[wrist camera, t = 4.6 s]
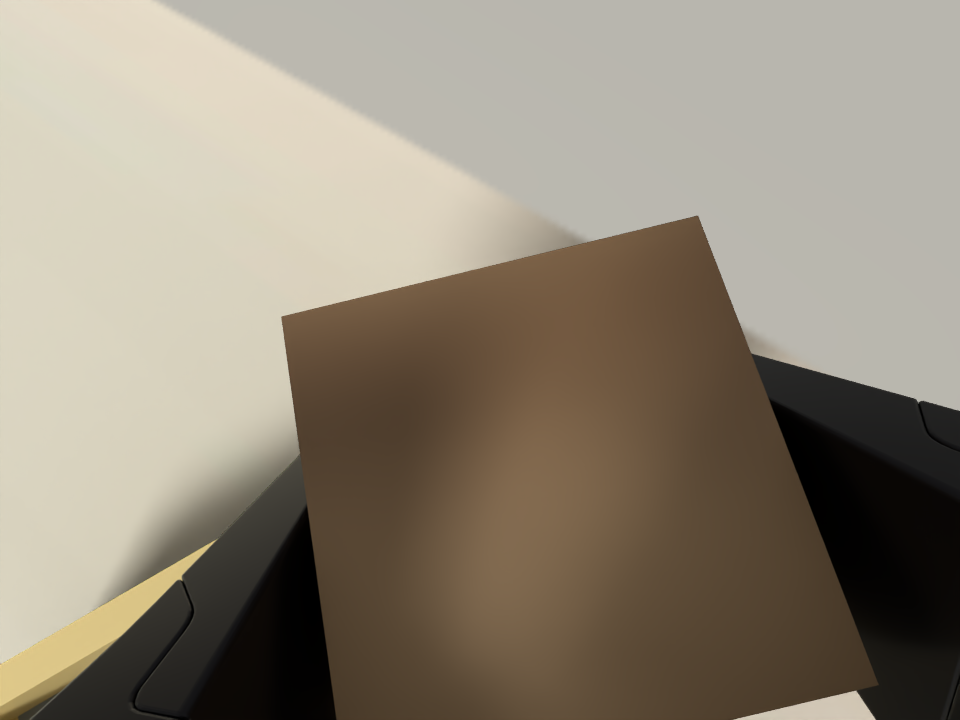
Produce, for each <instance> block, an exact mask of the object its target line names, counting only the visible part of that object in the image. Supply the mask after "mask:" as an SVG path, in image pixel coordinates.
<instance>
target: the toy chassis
mask: <svg viewBox="0 0 960 720" xmlns="http://www.w3.org/2000/svg"><path fill="white" fill-rule="evenodd" d="M216 540H217V539H216ZM216 540H215V541H216ZM215 541H213V542H211V543H209V544H208V545H206V546H204V547H202V548H201V549H199V550H197V551H196V552H194V553H192V554H190V555H189V556H187V557H185V558H183V559H182V560H180V561H178V562H177V563H175V564H173V565H171V566H170V567H168V568H166V569H164V570H163V571H161V572H159V573H158V574H156V575H154V576H152V577H151V578H149V579H147V580H145V581H144V582H142V583H140V584H139V585H137V586H135V587H133V588H132V589H130V590H128V591H126V592H125V593H123V594H121V595H120V596H118V597H116V598H114V599H113V600H111V601H109V602H108V603H106V604H104V605H102V606H101V607H99V608H97V609H95V610H94V611H92V612H90V613H89V614H87V615H85V616H83V617H82V618H80V619H78V620H76V621H75V622H73V623H71V624H70V625H68V626H66V627H64V628H63V629H61V630H59V631H57V632H56V633H54V634H52V635H51V636H49V637H47V638H45V639H44V640H42V641H40V642H38V643H37V644H35V645H33V646H32V647H30V648H28V649H26V650H25V651H23V652H21V653H19V654H18V655H16V656H14V657H13V658H11V659H9V660H7V661H6V662H4V663H2V664H0V720H29V719H30V718H31V717H33V716H34V715H35V714H36V713H37V712H38V711H39V710H40V709H41V708H42V707H44V706H45V705H46V704H47V703H48V702H49V701H50V700H51V699H52V698H54V697H55V696H56V695H57V694H58V693H59V692H60V691H61V690H62V689H64V688H65V687H66V686H67V685H68V684H69V683H70V682H71V681H72V680H73V679H75V678H76V677H77V676H78V675H79V674H80V673H81V672H82V671H83V670H85V669H86V668H87V667H88V666H89V665H90V664H91V663H92V662H93V661H94V660H95V659H96V658H98V657H99V656H100V655H101V654H102V653H103V652H104V651H105V650H106V649H107V648H108V647H109V646H111V645H112V644H113V643H114V642H115V641H116V640H117V639H118V638H119V637H120V636H121V635H122V634H124V633H125V632H126V631H127V630H128V629H129V628H130V627H131V626H132V625H133V624H134V623H135V622H136V621H137V620H138V619H139V618H140V617H141V616H142V615H143V614H144V613H145V612H146V611H147V610H148V609H149V608H150V607H151V606H152V605H153V604H154V603H155V602H156V601H157V600H158V599H159V598H160V597H161V596H162V595H163V594H164V593H165V592H166V591H167V590H168V589H169V588H170V587H171V586H172V585H173V584H174V582H175V581H177V580H179V579H180V580H182V575H183V574H184V572H185V571H186V570H187V569H188V568H189V567H190V566H191V565H192V564H193V563H194V562H195V561H196V560H197V559H198V558H199V557H200V556H201V555H202V554H203V553H204V552H205V551H206V550H207V549H208V548H209V547H210V546H211V545H212V544H213V543H214V542H215Z"/></svg>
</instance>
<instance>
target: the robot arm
mask: <svg viewBox="0 0 960 720" xmlns="http://www.w3.org/2000/svg"><path fill="white" fill-rule="evenodd" d="M751 355H752V357H753V360H754V363H755V365H756V368H757V370H758V373H759V375H760V378H761V381H762V383H763V386H764V388H765V391H766V394H767V396H768V399H769V401H770V404H771V407H772V409H773V412H774V414H775V417H776V420H777V422H778V425H779V427H780V430H781V433H782V435H783V438H784V440H785V443H786V446H787V448H788V451H789V453H790V456H791V459H792V461H793V464H794V466H795V469H796V472H797V474H798V477H799V479H800V482H801V485H802V487H803V490H804V492H805V495H806V498H807V500H808V503H809V505H810V508H811V511H812V513H813V516H814V518H815V521H816V523H817V526H818V529H819V531H820V534H821V536H822V539H823V542H824V544H825V547H826V549H827V552H828V555H829V557H830V560H831V562H832V565H833V568H834V570H835V573H836V575H837V578H838V581H839V583H840V586H841V588H842V591H843V594H844V596H845V599H846V601H847V604H848V607H849V609H850V612H851V614H852V617H853V620H854V622H855V625H856V627H857V630H858V633H859V635H860V638H861V640H862V643H863V646H864V648H865V651H866V653H867V656H868V658H869V661H870V664H871V666H872V669H873V671H874V674H875V677H876V679H877V682H878V684H879V685H877V686H873V687H868V688H864V689H860V690H856V691H857V693H858V694H859V696H860V697H861V698H862V700H863V701H864V703H865V704H866V706H867V707H868V709H869V710H870V712H871V713H872V715H873V716H874V718H875V719H876V720H960V411H958V410H953V409H950V408H947V407H943V406H939V405H936V404H933V403H929V402H925V401H920V402H919V403H918V402H917V400H916V399H914V398H910V397H906V396H903V395H899V394H896V393H892V392H889V391H885V390H881V389H877V388H874V387H871V386H867V385H863V384H860V383H856V382H852V381H849V380H845V379H842V378H838V377H834V376H831V375H827V374H823V373H820V372H816V371H813V370H809V369H805V368H802V367H798V366H794V365H791V364H787V363H784V362H780V361H776V360H773V359H769V358H765V357H762V356H758V355H755V354H751ZM29 720H337V719H336V712H335V705H334V697H333V690H332V683H331V675H330V668H329V661H328V653H327V646H326V639H325V632H324V624H323V617H322V610H321V602H320V595H319V588H318V580H317V573H316V566H315V559H314V551H313V544H312V537H311V529H310V522H309V515H308V508H307V500H306V493H305V486H304V478H303V471H302V464H301V456H300V455H299V456H298V457H297V458H296V459H295V460H294V461H293V462H292V463H291V464H290V465H289V466H288V467H287V468H286V470H285V471H284V472H283V473H282V474H281V475H280V476H279V477H278V478H277V479H276V480H275V481H274V482H273V483H272V484H271V485H270V486H269V487H268V488H267V489H266V490H265V491H264V492H263V493H262V494H261V495H260V496H259V497H258V498H257V499H256V500H255V501H254V502H253V503H252V504H251V505H250V506H249V507H248V508H247V509H246V510H245V511H244V512H243V513H242V514H241V515H240V516H239V517H238V518H237V519H236V521H235V522H234V523H233V524H232V525H231V526H230V527H229V528H228V529H227V530H226V531H225V532H224V533H223V534H222V535H221V536H220V537H219V538H218V539H217V540H216V541H215V542H214V543H213V544H212V545H211V546H210V547H209V548H208V549H207V550H206V551H205V552H204V553H203V554H202V555H201V556H200V557H199V558H198V559H197V560H196V561H195V562H194V563H193V564H192V565H191V566H190V567H189V568H188V569H187V570H186V571H185V572H184V574H183V575H182V580H180V579H179V580H177V581H175V582H174V584H173V585H172V586H171V587H170V588H169V589H168V590H167V591H166V592H165V593H164V594H163V595H162V596H161V597H160V598H159V599H158V600H157V601H156V602H155V603H154V604H153V605H152V606H151V607H150V608H149V609H148V610H147V611H146V612H145V613H144V614H143V615H142V616H141V617H140V618H139V619H138V620H137V621H136V622H135V623H134V624H133V625H132V626H131V627H130V628H129V629H128V630H127V631H126V632H125V633H124V634H122V635H121V636H120V637H119V638H118V639H117V640H116V641H115V642H114V643H113V644H112V645H111V646H109V647H108V648H107V649H106V650H105V651H104V652H103V653H102V654H101V655H100V656H99V657H98V658H96V659H95V660H94V661H93V662H92V663H91V664H90V665H89V666H88V667H87V668H86V669H85V670H83V671H82V672H81V673H80V674H79V675H78V676H77V677H76V678H75V679H73V680H72V681H71V682H70V683H69V684H68V685H67V686H66V687H65V688H64V689H62V690H61V691H60V692H59V693H58V694H57V695H56V696H55V697H54V698H52V699H51V700H50V701H49V702H48V703H47V704H46V705H45V706H44V707H42V708H41V709H40V710H39V711H38V712H37V713H36V714H35V715H34V716H33V717H31V718H30V719H29Z"/></svg>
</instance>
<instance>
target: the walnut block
mask: <svg viewBox="0 0 960 720" xmlns="http://www.w3.org/2000/svg"><path fill="white" fill-rule="evenodd" d="M281 318H282V325H283V332H284V340H285V347H286V354H287V362H288V369H289V376H290V384H291V391H292V398H293V405H294V413H295V420H296V427H297V435H298V442H299V449H300V456H301V464H302V471H303V478H304V486H305V493H306V500H307V508H308V515H309V522H310V529H311V537H312V544H313V551H314V559H315V566H316V573H317V580H318V588H319V595H320V602H321V610H322V617H323V624H324V632H325V639H326V646H327V653H328V661H329V668H330V675H331V683H332V690H333V697H334V705H335V712H336V719H337V720H733V719H737V718H742V717H746V716H750V715H754V714H759V713H763V712H767V711H771V710H775V709H780V708H784V707H788V706H792V705H797V704H801V703H805V702H809V701H813V700H818V699H822V698H826V697H830V696H835V695H839V694H843V693H847V692H851V691H856V690H860V689H864V688H868V687H873V686H877V685H879V684H878V682H877V679H876V677H875V674H874V671H873V669H872V666H871V664H870V661H869V658H868V656H867V653H866V651H865V648H864V646H863V643H862V640H861V638H860V635H859V633H858V630H857V627H856V625H855V622H854V620H853V617H852V614H851V612H850V609H849V607H848V604H847V601H846V599H845V596H844V594H843V591H842V588H841V586H840V583H839V581H838V578H837V575H836V573H835V570H834V568H833V565H832V562H831V560H830V557H829V555H828V552H827V549H826V547H825V544H824V542H823V539H822V536H821V534H820V531H819V529H818V526H817V523H816V521H815V518H814V516H813V513H812V511H811V508H810V505H809V503H808V500H807V498H806V495H805V492H804V490H803V487H802V485H801V482H800V479H799V477H798V474H797V472H796V469H795V466H794V464H793V461H792V459H791V456H790V453H789V451H788V448H787V446H786V443H785V440H784V438H783V435H782V433H781V430H780V427H779V425H778V422H777V420H776V417H775V414H774V412H773V409H772V407H771V404H770V401H769V399H768V396H767V394H766V391H765V388H764V386H763V383H762V381H761V378H760V375H759V373H758V370H757V368H756V365H755V363H754V360H753V357H752V355H751V352H750V350H749V347H748V344H747V342H746V339H745V337H744V334H743V331H742V329H741V326H740V324H739V321H738V318H737V316H736V313H735V311H734V308H733V305H732V303H731V300H730V298H729V295H728V293H727V290H726V287H725V285H724V282H723V279H722V277H721V274H720V272H719V269H718V266H717V264H716V262H715V259H714V256H713V253H712V251H711V248H710V246H709V243H708V240H707V238H706V235H705V233H704V230H703V227H702V225H701V222H700V220H699V217H698V216H694V217H690V218H686V219H682V220H678V221H674V222H670V223H665V224H661V225H657V226H653V227H649V228H645V229H641V230H637V231H633V232H628V233H624V234H620V235H616V236H612V237H608V238H604V239H599V240H595V241H591V242H587V243H583V244H579V245H575V246H571V247H567V248H562V249H558V250H554V251H550V252H546V253H542V254H538V255H534V256H529V257H525V258H521V259H517V260H513V261H509V262H505V263H501V264H496V265H492V266H488V267H484V268H480V269H476V270H472V271H468V272H464V273H459V274H455V275H451V276H447V277H443V278H439V279H435V280H431V281H426V282H422V283H418V284H414V285H410V286H406V287H402V288H398V289H393V290H389V291H385V292H381V293H377V294H373V295H369V296H365V297H361V298H356V299H352V300H348V301H344V302H340V303H336V304H332V305H328V306H323V307H319V308H315V309H311V310H307V311H303V312H299V313H295V314H290V315H286V316H282V317H281Z"/></svg>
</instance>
